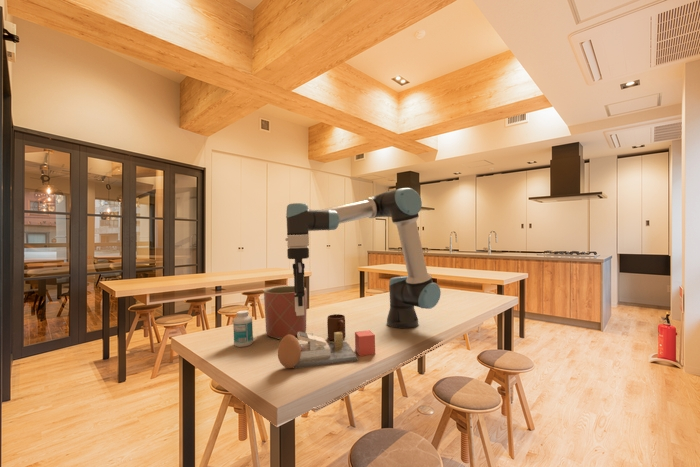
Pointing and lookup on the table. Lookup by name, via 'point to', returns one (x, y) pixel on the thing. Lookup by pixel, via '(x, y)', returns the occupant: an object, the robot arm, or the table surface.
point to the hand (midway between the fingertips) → (299, 313)
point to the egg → (289, 351)
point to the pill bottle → (243, 329)
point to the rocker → (307, 338)
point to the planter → (283, 312)
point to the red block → (364, 343)
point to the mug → (335, 325)
